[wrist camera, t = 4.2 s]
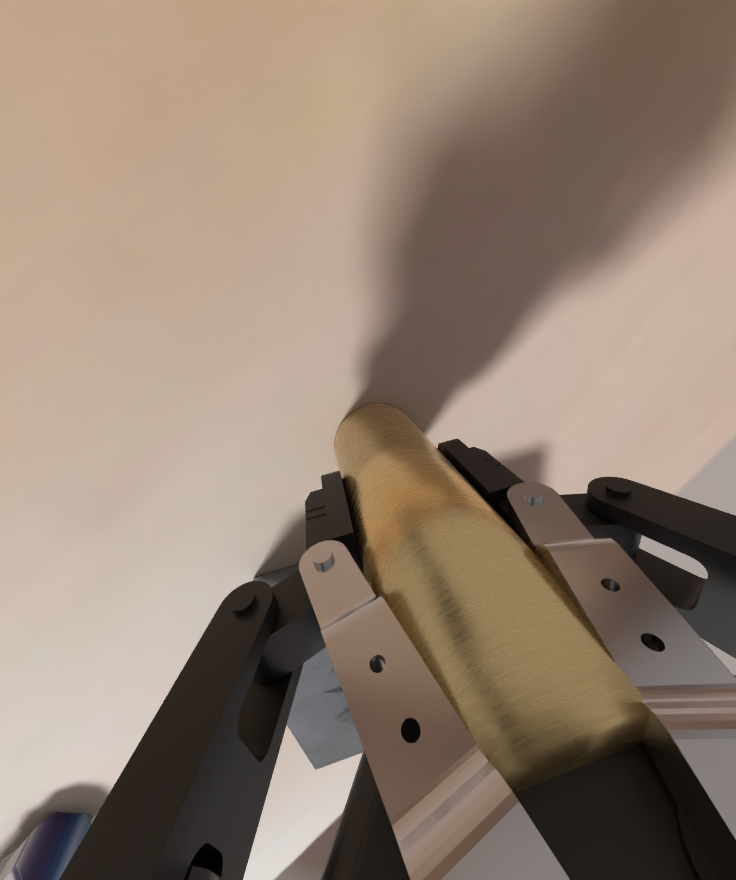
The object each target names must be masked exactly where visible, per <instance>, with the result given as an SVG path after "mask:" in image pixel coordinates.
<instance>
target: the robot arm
mask: <svg viewBox="0 0 736 880" xmlns="http://www.w3.org/2000/svg"><path fill="white" fill-rule="evenodd" d="M438 450H439V451H440V452H441V453H442V454H443V455H444V456H445V457H446V458H447V459H448V460H449V462H450V463H451V464H452V465H453V466H454V467H455V468H456V469H457V470H458V471H459V472H460V473H461V474H462V475H463V477H464V478H465V479H466V480H467V481H468V482H469V483H470V484H471V485H472V486H473V487H474V488H475V489H476V490H477V492H478V493H479V494H480V495H481V496H482V497H483V498H484V499H485V500H486V501H487V502H488V503H489V504H490V505H491V506H492V508H493V509H494V510H495V511H496V512H497V513H498V514H499V515H500V516H501V517H502V518H503V519H504V520H505V521H506V523H507V524H508V525H509V526H510V527H511V528H512V529H513V530H514V531H515V532H516V533H517V534H518V535H519V536H520V538H521V539H522V540H523V541H524V542H525V543H526V544H527V545H528V546H529V547H530V548H531V549H532V550H533V551H534V553H535V554H536V555H537V556H538V557H539V558H540V559H541V561H542V562H543V563H544V564H545V565H546V566H547V568H548V569H549V570H550V572H551V573H552V574H553V576H554V577H555V578H556V579H557V581H558V582H559V583H560V585H561V586H562V587H563V589H564V590H565V591H566V593H567V594H568V595H569V597H570V598H571V600H572V601H573V602H574V604H575V605H576V607H577V608H578V609H579V611H580V612H581V614H582V615H583V616H584V618H585V619H586V621H587V622H588V623H589V625H590V626H591V628H592V629H593V631H594V632H595V634H596V635H597V636H598V638H599V639H600V641H601V642H602V644H603V645H604V647H605V648H606V650H607V651H608V653H609V654H610V656H611V657H612V658H613V660H614V661H615V663H616V664H617V666H618V667H619V668H620V669H621V670H622V672H623V673H624V674H625V675H626V676H627V677H628V678H629V680H630V681H631V682H632V683H633V684H634V685H635V686H636V688H637V689H638V690H639V692H640V693H641V695H642V697H643V702H642V703H643V705H644V706H645V708H646V709H647V711H648V712H649V714H650V715H651V717H650V719H649V722H648V724H647V727H646V729H645V731H644V734H643V736H642V739H641V740H642V742H641V743H639V744H636V745H634V746H631V747H629V748H626V749H624V750H621V751H619V752H616V753H614V754H611V755H609V756H606V757H603V758H601V759H598V760H596V761H593V762H591V763H588V764H586V765H583V766H581V767H578V768H576V769H573V770H571V771H568V772H566V773H563V774H561V775H558V776H556V777H553V778H551V779H548V780H546V781H543V782H541V783H538V784H536V785H533V786H531V787H528V788H525V789H523V790H520V791H518V792H515V793H513V791H512V790H511V789H510V787H509V786H508V784H507V783H506V782H505V780H504V779H503V778H502V776H501V775H500V774H499V772H498V771H497V770H496V769H495V768H494V767H493V765H492V764H491V763H490V762H489V761H488V760H487V759H486V757H485V756H484V755H483V754H482V753H481V751H480V750H479V749H478V747H477V745H476V743H475V741H474V740H473V738H472V736H471V735H470V733H469V732H468V730H467V729H466V727H465V725H464V724H463V722H462V721H461V719H460V718H459V716H458V714H457V713H456V711H455V710H454V708H453V707H452V705H451V703H450V702H449V700H448V699H447V697H446V696H445V694H444V692H443V691H442V689H441V688H440V686H439V685H438V683H437V681H436V680H435V678H434V677H433V675H432V674H431V672H430V670H429V669H428V667H427V666H426V664H425V663H424V661H423V659H422V658H421V656H420V655H419V653H418V652H417V650H416V649H415V647H414V645H413V644H412V642H411V641H410V639H409V638H408V636H407V634H406V633H405V631H404V630H403V628H402V627H401V625H400V623H399V622H398V620H397V619H396V617H395V616H394V614H393V612H392V611H391V609H390V608H389V606H388V605H387V603H386V601H385V600H384V599H383V597H382V596H381V595H378V596H376V595H375V594H374V592H373V590H372V589H371V587H370V586H369V584H368V582H367V581H366V579H365V577H364V576H363V574H362V570H361V566H360V561H359V556H358V545H357V541H356V537H355V532H354V528H353V524H352V519H351V515H350V511H349V507H348V502H347V498H346V494H345V489H344V485H343V481H342V477H341V473H340V471H336V472H333V473H329V474H326V475H322V476H321V479H322V488H323V489H320V490H316V491H313V492H310V494H309V496H308V498H307V500H306V501H305V509H306V552H305V553H304V554H303V556H302V557H301V559H300V562H299V569H298V570H297V571H296V572H295V573H293V574H292V575H291V576H289V577H288V578H286V579H285V580H283V581H281V582H280V583H278V584H276V585H275V586H273V587H270V585H269V584H268V583H266V582H263V581H251V582H248V583H245V584H243V585H241V586H239V587H238V588H236V589H235V590H233V591H232V592H231V593H230V594H229V595H228V596H227V597H226V598H225V599H224V600H223V602H222V603H221V605H220V607H219V608H218V610H217V612H216V613H215V615H214V617H213V618H212V620H211V622H210V624H209V625H208V627H207V629H206V630H205V632H204V634H203V635H202V637H201V639H200V641H199V642H198V644H197V646H196V647H195V649H194V651H193V652H192V654H191V656H190V658H189V659H188V661H187V663H186V664H185V666H184V668H183V670H182V671H181V673H180V675H179V676H178V678H177V680H176V681H175V683H174V685H173V687H172V688H171V690H170V692H169V693H168V695H167V697H166V698H165V700H164V702H163V704H162V705H161V707H160V709H159V710H158V712H157V714H156V715H155V717H154V719H153V721H152V722H151V724H150V726H149V727H148V729H147V731H146V732H145V734H144V736H143V738H142V739H141V741H140V743H139V744H138V746H137V748H136V749H135V751H134V753H133V755H132V756H131V758H130V760H129V761H128V763H127V765H126V766H125V768H124V770H123V772H122V773H121V775H120V777H119V778H118V780H117V782H116V783H115V785H114V787H113V789H112V790H111V792H110V794H109V795H108V797H107V799H106V800H105V802H104V804H103V806H102V807H101V809H100V811H99V812H98V814H97V816H96V817H95V819H94V821H93V823H92V824H91V826H90V828H89V829H88V831H87V833H86V834H85V836H84V838H83V840H82V841H81V843H80V845H79V846H78V848H77V850H76V851H75V853H74V855H73V857H72V858H71V860H70V862H69V863H68V865H67V867H66V868H65V870H64V872H63V874H62V875H61V877H60V879H59V880H243V877H244V873H245V870H246V866H247V863H248V859H249V856H250V852H251V849H252V845H253V842H254V838H255V834H256V831H257V827H258V824H259V820H260V817H261V813H262V810H263V806H264V803H265V799H266V795H267V792H268V788H269V785H270V781H271V778H272V774H273V771H274V767H275V764H276V760H277V757H278V753H279V749H280V746H281V742H282V739H283V735H284V732H285V728H286V725H287V721H288V718H289V714H290V711H291V707H292V703H293V700H294V696H295V693H296V689H297V686H298V682H299V679H300V675H301V672H302V668H303V663H304V662H306V661H307V660H309V659H310V658H311V657H313V656H314V655H315V654H317V653H318V652H320V651H321V650H322V649H324V648H325V647H327V650H328V653H329V655H330V658H331V661H332V664H333V666H334V669H335V672H336V675H337V677H338V680H339V683H340V686H341V688H342V691H343V694H344V697H345V699H346V702H347V705H348V708H349V710H350V713H351V716H352V718H353V721H354V724H355V727H356V729H357V732H358V735H359V738H360V740H361V743H362V746H363V749H364V751H363V754H362V757H361V760H360V763H359V766H358V769H357V772H356V775H355V778H354V781H353V784H352V787H351V790H350V793H349V797H348V800H347V803H346V806H345V809H344V812H343V815H342V818H341V821H340V824H339V827H338V830H337V833H336V836H335V839H334V842H333V845H332V848H331V851H330V854H329V857H328V860H327V863H326V866H325V869H324V872H323V875H322V878H321V880H736V676H735V675H733V674H732V673H731V672H730V671H729V669H727V667H726V666H725V665H724V664H723V663H722V661H721V660H720V659H719V658H718V657H717V656H716V655H715V654H714V653H713V651H712V650H711V649H710V648H709V647H708V646H707V644H706V643H705V642H704V641H703V640H702V639H704V640H705V641H707V642H709V643H710V644H712V645H714V646H716V647H717V648H719V649H721V650H722V651H724V652H726V653H727V654H729V655H731V656H732V657H734V658H736V516H735V515H732V514H729V513H726V512H723V511H720V510H717V509H714V508H711V507H708V506H705V505H702V504H699V503H696V502H693V501H690V500H687V499H684V498H681V497H678V496H675V495H672V494H670V493H667V492H664V491H661V490H658V489H655V488H652V487H649V486H646V485H643V484H640V483H637V482H634V481H631V480H628V479H624V478H618V477H601V478H597V479H594V480H592V481H591V482H590V483H589V484H588V489H587V493H586V494H569V495H559V494H558V493H557V492H556V491H555V490H554V489H552V488H550V487H548V486H546V485H543V484H539V483H532V482H526V483H525V482H523V481H522V480H521V479H520V478H518V477H517V476H516V475H515V474H514V473H512V472H511V471H510V470H509V469H507V468H506V467H505V466H504V465H501V463H500V462H499V461H497V460H496V459H494V457H492V456H491V455H490V454H489V453H487V452H486V451H484V450H481V449H478V448H476V447H472V448H468V447H467V446H466V445H465V444H464V443H462V442H461V441H460V440H459V439H454V440H450V441H446V442H443V443H439V444H438ZM642 535H644V536H646V537H648V538H650V539H652V540H654V541H657V542H659V543H661V544H663V545H666V546H668V547H670V548H673V549H675V550H677V551H679V552H681V553H684V554H686V555H688V556H690V557H692V558H694V559H696V560H697V561H699V562H700V563H701V564H702V565H703V566H704V567H705V568H706V570H707V572H708V579H703V578H701V577H698V576H696V575H694V574H692V573H690V572H687V571H685V570H683V569H681V568H679V567H677V566H675V565H673V564H670V563H669V562H667V561H665V560H662V559H660V558H658V557H656V556H654V555H652V554H650V553H648V552H646V551H644V550H641V549H640V548H639V544H640V540H641V536H642ZM701 638H702V639H701Z"/></svg>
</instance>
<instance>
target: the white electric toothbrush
mask: <svg viewBox="0 0 736 880" xmlns="http://www.w3.org/2000/svg"><path fill="white" fill-rule="evenodd" d="M90 826H91V822H90V819H89V817H88V814H76V813H60V812H56V813H54V814H53V815H52V816H50V817H49V818H48V819H46V820H45V821H44V822H42V823H41V824H39V825H38V826H37V827H35V828H34V829H33V831H32V832H31V833H30V834H29V836H28V837H27V838H26V839H25V841H24V842H23V843H22V844H21V845H20V846H19V847H18V848H17V849H15V850H14V851H13V852H12V853H10V854H9V855H8V856H6V857H5V858H4V859H2V860H1V862H0V880H59V879H60V877H61V875H62V874H63V872H64V870H65V868H66V867H67V865H68V863H69V862H70V860H71V858H72V857H73V855H74V853H75V851H76V850H77V848H78V846H79V845H80V843H81V841H82V840H83V838H84V836H85V834H86V833H87V831H88V829H89V828H90Z"/></svg>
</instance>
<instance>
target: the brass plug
mask: <svg viewBox="0 0 736 880" xmlns="http://www.w3.org/2000/svg"><path fill="white" fill-rule="evenodd" d="M334 450H335V455H336V460H337V464H338V468H339V471H340V473H341V477H342V481H343V485H344V489H345V494H346V498H347V502H348V507H349V511H350V515H351V519H352V524H353V528H354V532H355V537H356V541H357V545H358V556H359V561H360V566H361V570H362V574H363V576H364V577H365V579H366V581H367V582H368V584H369V586H370V587H371V589H372V590H373V592H374V594H375V595H376V596H378V595H381V596H382V597H383V599H384V600H385V601H386V603H387V605H388V606H389V608H390V609H391V611H392V612H393V614H394V616H395V617H396V619H397V620H398V622H399V623H400V625H401V627H402V628H403V630H404V631H405V633H406V634H407V636H408V638H409V639H410V641H411V642H412V644H413V645H414V647H415V649H416V650H417V652H418V653H419V655H420V656H421V658H422V659H423V661H424V663H425V664H426V666H427V667H428V669H429V670H430V672H431V674H432V675H433V677H434V678H435V680H436V681H437V683H438V685H439V686H440V688H441V689H442V691H443V692H444V694H445V696H446V697H447V699H448V700H449V702H450V703H451V705H452V707H453V708H454V710H455V711H456V713H457V714H458V716H459V718H460V719H461V721H462V722H463V724H464V725H465V727H466V729H467V730H468V732H469V733H470V735H471V736H472V738H473V740H474V741H475V743H476V745H477V747H478V749H479V750H480V751H481V753H482V754H483V755H484V756H485V757H486V759H487V760H488V761H489V762H490V763H491V764H492V765H493V767H494V768H495V769H496V770H497V771H498V772H499V774H500V775H501V776H502V778H503V779H504V780H505V782H506V783H507V784H508V786H509V787H510V789H511V790H512V791H513V793H515V792H518V791H520V790H523V789H525V788H528V787H531V786H533V785H536V784H538V783H541V782H543V781H546V780H548V779H551V778H553V777H556V776H558V775H561V774H563V773H566V772H568V771H571V770H573V769H576V768H578V767H581V766H583V765H586V764H588V763H591V762H593V761H596V760H598V759H601V758H603V757H606V756H609V755H611V754H614V753H616V752H619V751H621V750H624V749H626V748H629V747H631V746H634V745H636V744H639V743H641V742H642V740H641V739H642V736H643V734H644V731H645V729H646V727H647V724H648V722H649V719H650V717H651V715H650V714H649V712H648V711H647V709H646V708H645V706H644V705H643V703H642V702H643V697H642V695H641V693H640V692H639V690H638V689H637V688H636V686H635V685H634V684H633V683H632V682H631V681H630V680H629V678H628V677H627V676H626V675H625V674H624V673H623V672H622V670H621V669H620V668H619V667H618V666H617V664H616V663H615V661H614V660H613V658H612V657H611V656H610V654H609V653H608V651H607V650H606V648H605V647H604V645H603V644H602V642H601V641H600V639H599V638H598V636H597V635H596V634H595V632H594V631H593V629H592V628H591V626H590V625H589V623H588V622H587V621H586V619H585V618H584V616H583V615H582V614H581V612H580V611H579V609H578V608H577V607H576V605H575V604H574V602H573V601H572V600H571V598H570V597H569V595H568V594H567V593H566V591H565V590H564V589H563V587H562V586H561V585H560V583H559V582H558V581H557V579H556V578H555V577H554V576H553V574H552V573H551V572H550V570H549V569H548V568H547V566H546V565H545V564H544V563H543V562H542V561H541V559H540V558H539V557H538V556H537V555H536V554H535V553H534V551H533V550H532V549H531V548H530V547H529V546H528V545H527V544H526V543H525V542H524V541H523V540H522V539H521V538H520V536H519V535H518V534H517V533H516V532H515V531H514V530H513V529H512V528H511V527H510V526H509V525H508V524H507V523H506V521H505V520H504V519H503V518H502V517H501V516H500V515H499V514H498V513H497V512H496V511H495V510H494V509H493V508H492V506H491V505H490V504H489V503H488V502H487V501H486V500H485V499H484V498H483V497H482V496H481V495H480V494H479V493H478V492H477V490H476V489H475V488H474V487H473V486H472V485H471V484H470V483H469V482H468V481H467V480H466V479H465V478H464V477H463V475H462V474H461V473H460V472H459V471H458V470H457V469H456V468H455V467H454V466H453V465H452V464H451V463H450V462H449V460H448V459H447V458H446V457H445V456H444V455H443V454H442V453H441V452H440V451H439V450H438V449H437V448H436V447H435V446H434V444H433V443H432V442H431V441H430V440H429V439H428V438H427V437H426V436H425V435H424V434H423V433H422V432H421V431H420V429H419V428H418V427H417V426H416V425H415V424H414V423H413V422H412V421H411V420H410V419H409V418H408V417H407V416H406V415H405V414H404V413H403V412H402V411H401V410H399V409H398V408H396V407H393V406H391V405H387V404H370V405H366V406H363V407H360V408H358V409H356V410H355V411H353V412H352V413H350V414H349V415H348V416H347V417H346V418H345V419H344V420H343V421H342V423H341V424H340V426H339V428H338V430H337V432H336V435H335V440H334Z"/></svg>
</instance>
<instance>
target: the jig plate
mask: <svg viewBox="0 0 736 880" xmlns="http://www.w3.org/2000/svg"><path fill="white" fill-rule="evenodd" d="M298 569H299V564H298V565H295V566H291V567H288V568H285V569H281V570H278V571H275V572H271V573H268V574H265V575H261V576H258V577H255V578H254V579H253V581H263V582H266V583H268V584H269V585H270V587H273V586H275V585H276V584H278V583H280V582H281V581H283V580H285V579H286V578H288V577H289V576H291V575H292V574H293V573H295V572H296V571H297V570H298ZM287 726H288V727H289V729H290V730H291V732H292V734H293V735H294V737H295V738H296V740H297V741H298V743H299V745H300V746H301V748H302V749H303V751H304V752H305V754H306V756H307V757H308V759H309V760H310V762H311V763H312V765H313V767H314V768H315V770H316V769H319V768H321V767H324V766H327V765H330V764H332V763H335V762H338V761H341V760H343V759H346V758H349V757H352V756H354V755H357V754H360V753H363V751H364V749H363V746H362V743H361V740H360V738H359V735H358V732H357V729H356V727H355V724H354V721H353V718H352V716H351V713H350V710H349V708H348V705H347V702H346V699H345V697H344V694H343V691H342V688H341V686H340V683H339V680H338V677H337V675H336V672H335V669H334V666H333V664H332V661H331V658H330V655H329V653H328V650H327V647H325V648H324V649H322V650H321V651H320V652H318V653H317V654H315V655H314V656H313V657H311V658H310V659H309V660H307V661H306V662H304V663H303V668H302V672H301V675H300V679H299V682H298V686H297V689H296V693H295V696H294V700H293V703H292V707H291V711H290V714H289V718H288V721H287Z"/></svg>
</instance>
